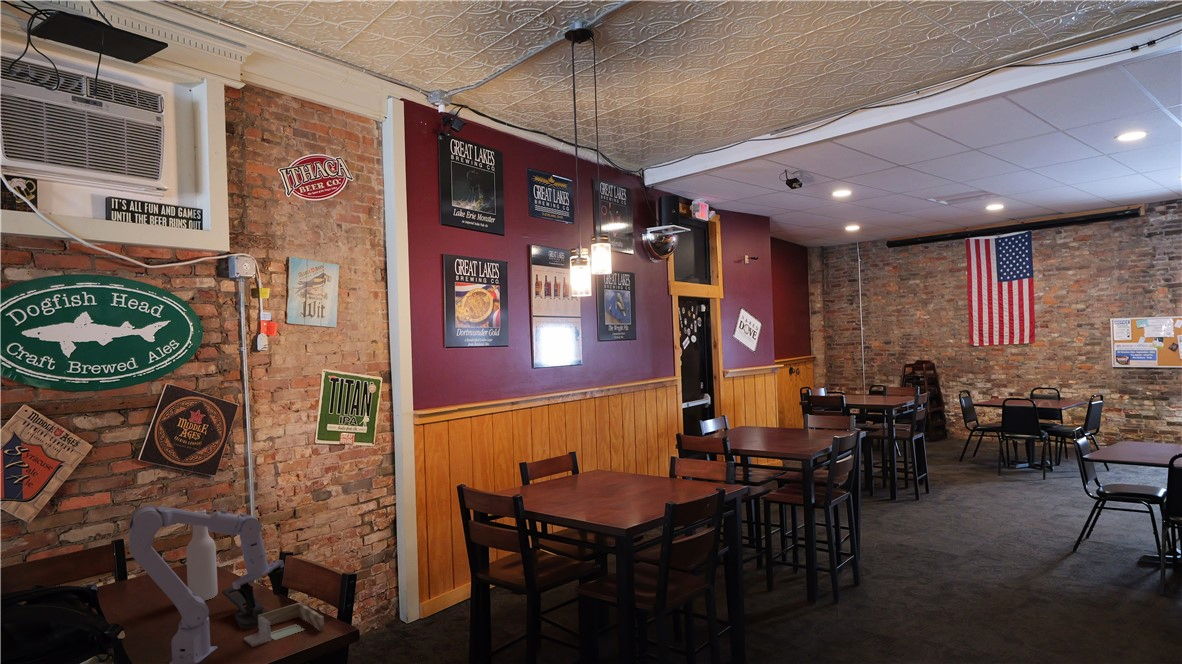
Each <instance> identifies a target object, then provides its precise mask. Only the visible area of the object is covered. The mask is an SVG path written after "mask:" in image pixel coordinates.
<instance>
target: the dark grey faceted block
mask: <svg viewBox="0 0 1182 664" xmlns="http://www.w3.org/2000/svg"><path fill="white" fill-rule="evenodd" d="M221 594H222V595H223V596H224V597H225V598H227V599H228V600H229V601H230V602H231V603H232V604H233V605H235V606H236V607H237V608H238V609H237V610H235V611H234V620H235V619H236V620H235V621H236V623H237V622H238V623H237V624H238V626H239V628H240V627H241V628H240V629H243V628H245V630H250V629H249V628H251V629H254V627H256V628H258V627H257V626H258V615H260V614H263V613H266V612H270V611H271V610H268V609H267V608H264V606H263V605H262V604H261V603H260V601H259V600H258V599H257V597H256V596H255V594H254V593H253V597H254V602H255V608H253V609H252V608H249V606H248V604H247V602H246V600H245V599H244V597H243V596H242V595H241V594H240V593H239V592H238V591H237V590H236V589H233V586H231V587H229V588H226V589H223V590H222V591H221Z"/></svg>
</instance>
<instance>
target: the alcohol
mask: <svg viewBox="0 0 1182 664" xmlns="http://www.w3.org/2000/svg"><path fill="white" fill-rule="evenodd" d="M193 512H197V513H203V514H207V510H206V509H198V510H197V509H196V510H195V511H193ZM185 550H186V553H185V555H186V557H185V558H186V573H187V574H186V576H187V577H186V579H187V587H188V588H189V589H190V590H191V591H192V592H193V593H195V594H198V595H200V596H202V597H203V599H204V601H205V602H207V601H206V600H208V601H210V600H209V599H211V600H213V599H215V598H216V597H217V595H218V593H219V591H218V590H219V587H218V586H219V585H218V568H217V567H218V565H217V545H216V542H215V540H214V539H213V538H212V537H211V536H210V533H209V529H208V528H207V526H198V525H192V537H191V540H190V541H189V543H188V544H187V545H186V549H185ZM215 596H216V597H215ZM214 597H215V598H214ZM212 598H213V599H212Z"/></svg>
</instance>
